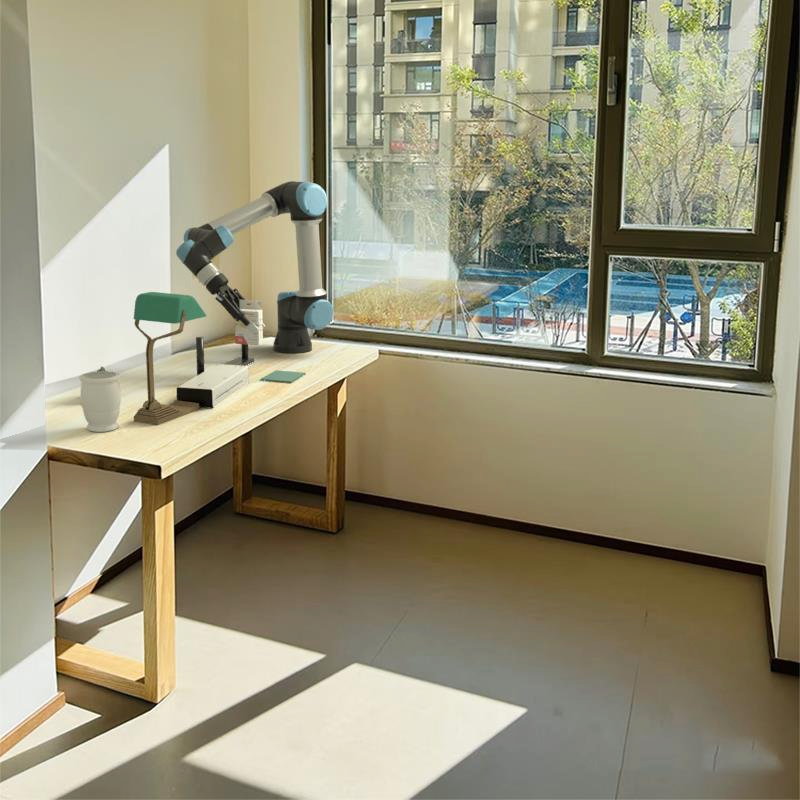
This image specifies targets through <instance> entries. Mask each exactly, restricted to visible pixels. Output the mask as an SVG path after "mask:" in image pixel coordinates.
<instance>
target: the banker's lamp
mask: <svg viewBox="0 0 800 800" xmlns="http://www.w3.org/2000/svg"><path fill="white" fill-rule="evenodd" d="M134 301H135V302H134V309H133V311H134V312H133V320H134V326H135V328H136V329H137V330H138V331H139V332H140V333H141V334H142V335H143V336H144V337H145V338H146V339H147V341H146V346H145V347H146V348H145V359H146V360H145V361H146V362H145V363H146V381H147V383H146V384H147V400H145V401H144V402H143V404H142V407H141V408H139V409H137V412H135V414H134V415H133V422H135V423H136V422H137V423H141V424H142V423H143V424H149V425H155V426H161V425H163V424H166V423H168V422H170V421H173V420H175V419H178V418H180V417H183V416H186V415H188V414H190V413H193V412H196V411H199V410H200V407H199V403H192V402H185V401H177V399H174V400H173V402H172V403H169V404H162V403H161V402H159V401H158V400H157V399H155V398H156V397H155V374H154V373H155V372H154V345H155V342H157V341H158V340H161V339H162V340H163V339H165V338H169V337H172V336H176V335H180V334H181V333H183V331H184V327H185V323H186V322H189V321H194V320H197V319H201V318H206V317H207V316H208V315H207V314H206V312H205V310H203V308H202V307H201V305H200V304H199V303H198V300H197V299H196V298H194V297H193V296H192V295H187V294H177V293H170V292H169V293H168V292H158V291H157V292H155V291H149V292H148V291H147V292H143V293H139V294H138V295H137V296H136V298H135V300H134ZM140 321H147V322H156V323H157V322H158V323H166V324H172V325H173V324H174V325H175V324H179V327H178V329H176V330H175V331H172V332H169V333H165V334H163V335H159V336H156V337H154V338H152V337H150V336H149V334H147V333H145V331H143V330H142V329H141V328H140V326H139V325H140Z"/></svg>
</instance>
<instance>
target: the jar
mask: <svg viewBox="0 0 800 800" xmlns="http://www.w3.org/2000/svg"><path fill="white" fill-rule="evenodd" d="M97 371H98V370H97ZM97 371H91V372H89V371H88V372H85V373H82V374H80V375H79V381H81V385H80V404H81V408H82V412H83V416H84V418H85V421H86V422H87V423H88V424H87V425H86V430H87V431H89V432H93V433H106V432H107V433H108V432H111V431H115V430H117V429H118V428H119V424H118V422H117V421H118V418H119V416H120V412H121V411H120V409H121V403H122V401H121V400H122V399H121V398H122V397H121V396H122V394H121V388H120V383H119V379H120V373H119V372H116V371H110V370H109V371H107V370H106V371H98V372H97Z"/></svg>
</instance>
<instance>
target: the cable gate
mask: <svg viewBox="0 0 800 800" xmlns="http://www.w3.org/2000/svg"><path fill="white" fill-rule="evenodd" d="M195 345H196V346H195V347H196V348H195V349H196V352H195V353H196V376H198V375H199V374H201V373H203V372H204V371H205V343H204V336H197V337H195ZM240 346H241V356H238V357H236V358H234V359H231V360H230V361H228V362H225V363H224V364H227V365H243V366H246V365H247V366H249V365H251V364H253V363H255V358H254V357H249V345H246V344H240ZM252 362H253V363H252ZM250 363H251V364H250ZM248 364H249V365H248Z"/></svg>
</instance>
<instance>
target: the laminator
mask: <svg viewBox="0 0 800 800" xmlns="http://www.w3.org/2000/svg"><path fill="white" fill-rule="evenodd" d="M249 368H250V366H249V365H247V366H243V365H227V364H225V363H216V364H215V365H213V366H211V367H210V368H208V369H206V370H204V372H203V373H201V374H199V375H198V376H197V375H196V376H194V377H193V378H191V379H189V380H187V381H186V382H184V383H183V384H181V385H179V386H177V387H176V400H177V401H185V402H192V403H199V408H207V407H214V406H216V405H217V404H218V403H220V402H221V401H223V400H224V399H226V398H227V397H228V396H230V395H231V394H232V393H234V392H235V391H237V390H238V389H240V388H241V387H243V386H244V385H245V386H247V385H248V384H249V381H250V378H249V377H250V373H249V372H250V370H249ZM247 383H248V384H247ZM246 384H247V385H246ZM245 386H244V387H245ZM244 387H243V388H244ZM241 389H242V388H241ZM241 389H240V390H241ZM238 391H239V390H238ZM238 391H237V392H238ZM234 394H235V393H234ZM231 396H232V395H231ZM231 396H230V397H231ZM228 398H229V397H228ZM228 398H227V399H228ZM227 399H226V400H227ZM224 401H225V400H224ZM224 401H223V402H224ZM221 403H222V402H221ZM221 403H220V404H221ZM217 406H218V405H217ZM217 406H216V407H217ZM214 408H215V407H214Z"/></svg>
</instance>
